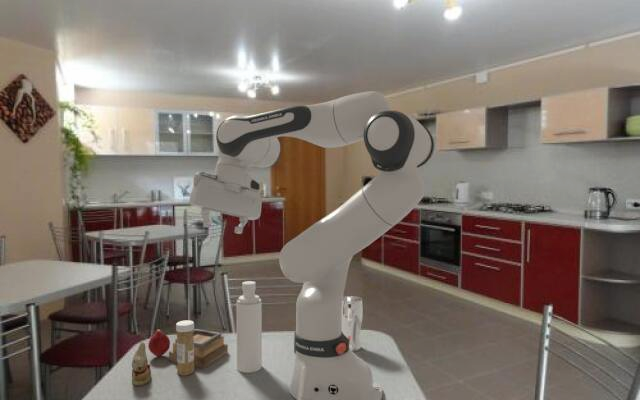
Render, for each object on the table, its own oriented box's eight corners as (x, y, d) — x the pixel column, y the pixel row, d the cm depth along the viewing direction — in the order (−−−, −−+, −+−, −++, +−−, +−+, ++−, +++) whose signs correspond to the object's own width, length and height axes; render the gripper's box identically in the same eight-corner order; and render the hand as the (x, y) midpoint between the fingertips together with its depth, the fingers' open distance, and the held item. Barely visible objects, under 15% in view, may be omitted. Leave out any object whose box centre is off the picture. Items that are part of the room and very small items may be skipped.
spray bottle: (232, 367, 121) (231, 276, 120) (253, 360, 126) (252, 272, 124) (245, 375, 116) (244, 281, 115) (266, 368, 121) (266, 277, 119)
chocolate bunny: (122, 386, 110) (121, 346, 109) (140, 372, 118) (139, 335, 117) (142, 388, 109) (142, 348, 109) (159, 373, 117) (158, 336, 116)
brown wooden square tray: (227, 352, 131) (227, 332, 130) (204, 368, 120) (204, 346, 120) (194, 346, 135) (194, 327, 135) (169, 360, 125) (168, 339, 125)
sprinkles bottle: (197, 373, 117) (196, 323, 116) (179, 377, 115) (178, 326, 114) (191, 367, 121) (191, 318, 120) (174, 371, 118) (173, 321, 118)
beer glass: (335, 345, 137) (335, 297, 136) (355, 341, 140) (355, 294, 139) (346, 353, 130) (346, 303, 130) (366, 349, 133) (367, 300, 132)
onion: (173, 353, 130) (173, 326, 130) (164, 361, 124) (164, 333, 124) (154, 352, 131) (154, 325, 130) (144, 360, 125) (144, 332, 124)
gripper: (201, 167, 111) (192, 222, 108) (267, 187, 125) (260, 236, 122) (189, 171, 116) (181, 223, 113) (254, 190, 129) (247, 237, 126)
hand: (223, 230), depth 117 cm, fingers open, 8 cm apart
